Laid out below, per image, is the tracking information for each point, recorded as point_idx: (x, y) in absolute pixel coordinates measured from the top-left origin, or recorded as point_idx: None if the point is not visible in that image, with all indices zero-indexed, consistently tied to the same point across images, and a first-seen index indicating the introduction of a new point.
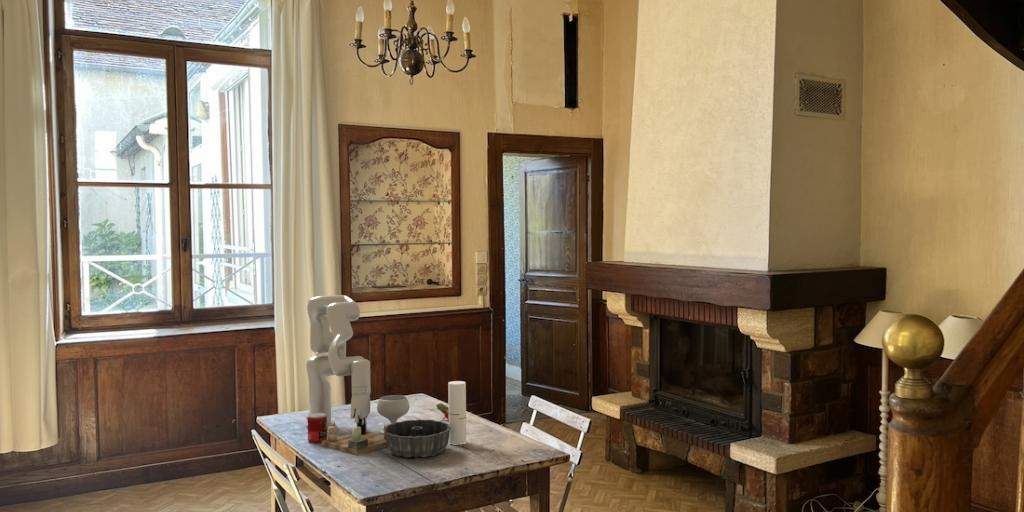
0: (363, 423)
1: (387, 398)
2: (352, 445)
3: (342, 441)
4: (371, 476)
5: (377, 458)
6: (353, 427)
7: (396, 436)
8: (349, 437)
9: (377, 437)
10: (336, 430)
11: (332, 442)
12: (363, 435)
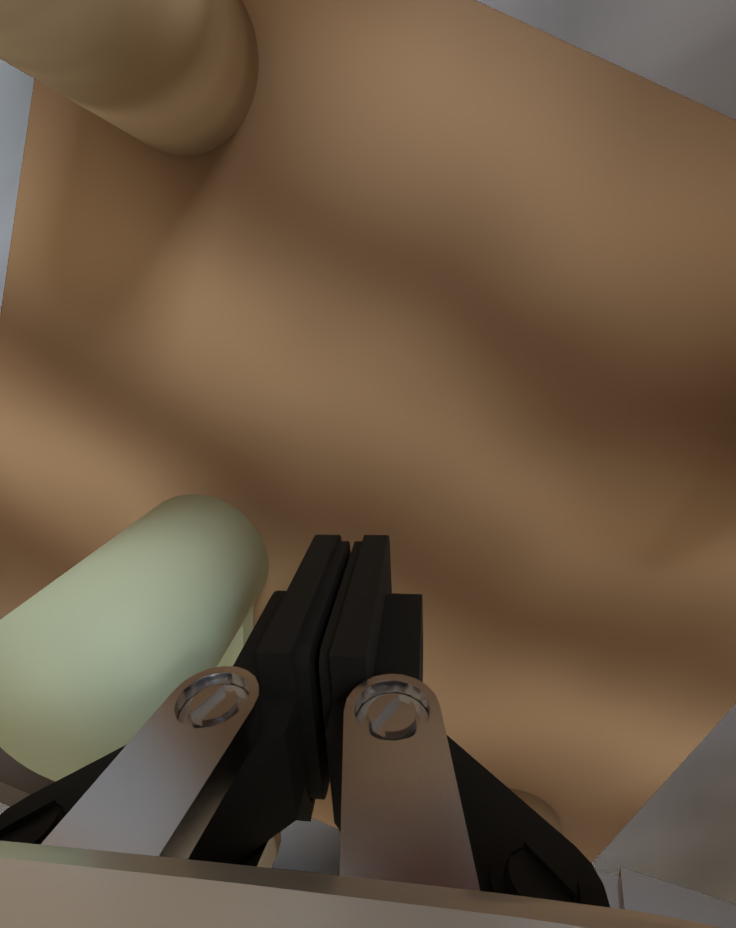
0: (267, 847)
1: None
2: None
3: (193, 296)
4: None
5: (5, 806)
6: (33, 640)
7: None
8: (459, 290)
9: (532, 705)
10: (83, 58)
11: (78, 145)
12: (633, 473)
